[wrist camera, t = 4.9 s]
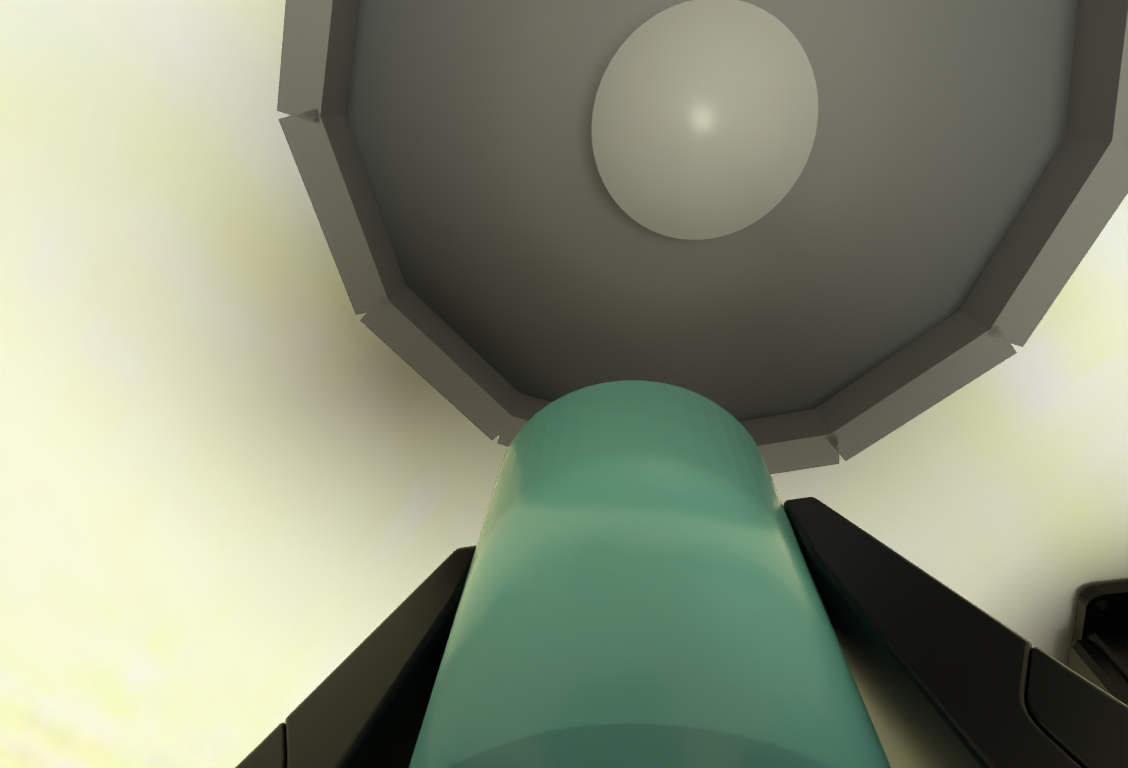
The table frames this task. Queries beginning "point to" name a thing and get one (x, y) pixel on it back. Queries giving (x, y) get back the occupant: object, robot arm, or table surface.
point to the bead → (641, 605)
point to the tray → (709, 194)
